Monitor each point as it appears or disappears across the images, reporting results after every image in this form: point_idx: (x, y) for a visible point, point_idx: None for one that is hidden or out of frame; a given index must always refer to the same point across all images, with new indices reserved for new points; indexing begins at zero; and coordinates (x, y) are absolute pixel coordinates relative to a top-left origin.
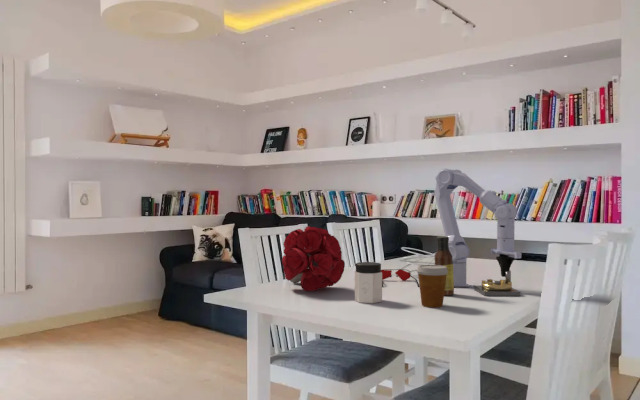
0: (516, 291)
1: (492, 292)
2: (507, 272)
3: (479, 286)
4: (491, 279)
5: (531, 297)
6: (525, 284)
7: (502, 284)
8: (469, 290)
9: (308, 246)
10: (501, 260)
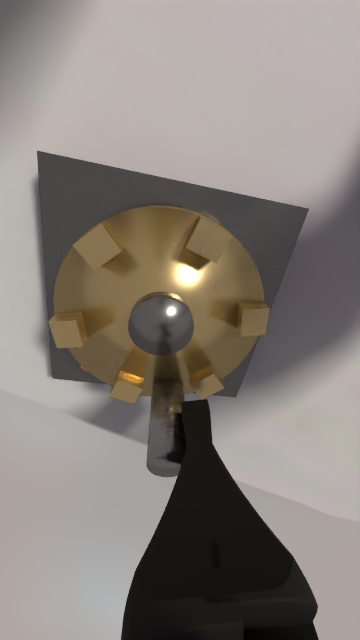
0: (58, 363)
1: (43, 217)
2: (151, 445)
3: (259, 229)
4: (247, 332)
5: (33, 391)
6: (309, 477)
7: (56, 318)
8: (284, 153)
9: None
10: (162, 554)
